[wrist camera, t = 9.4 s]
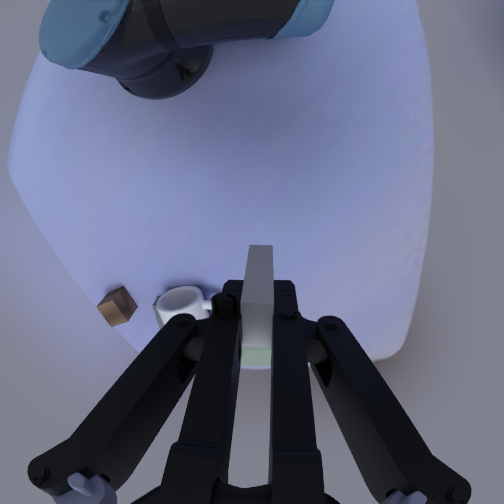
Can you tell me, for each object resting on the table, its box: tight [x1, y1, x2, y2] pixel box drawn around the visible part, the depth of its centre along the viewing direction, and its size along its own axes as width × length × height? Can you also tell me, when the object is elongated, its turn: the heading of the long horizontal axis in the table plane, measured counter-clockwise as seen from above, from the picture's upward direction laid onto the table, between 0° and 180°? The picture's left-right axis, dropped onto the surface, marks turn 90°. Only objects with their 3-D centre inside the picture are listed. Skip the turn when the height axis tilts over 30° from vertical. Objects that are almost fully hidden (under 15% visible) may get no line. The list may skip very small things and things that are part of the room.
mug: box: [156, 286, 212, 325], centre depth 45 cm, size 12×10×8 cm
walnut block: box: [97, 286, 138, 327], centre depth 47 cm, size 5×5×5 cm
